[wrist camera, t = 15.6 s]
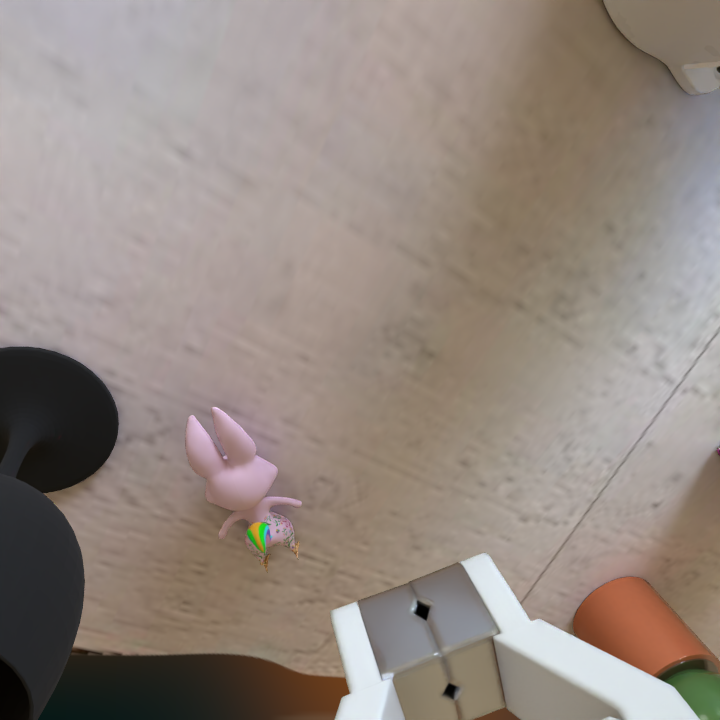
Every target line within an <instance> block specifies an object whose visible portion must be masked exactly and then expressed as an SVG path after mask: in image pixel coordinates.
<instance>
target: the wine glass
mask: <svg viewBox="0 0 720 720" xmlns="http://www.w3.org/2000/svg"><path fill="white" fill-rule="evenodd" d="M118 425H119V422H118V412H117V409H116V405H115V402H114V400H113V398H112V396H111V394H110V392H109V390H108V389H107V388H106V386H105V385H104V384H103V382H102V381H101V380H100V379H99V378H98V377H97V376H96V375H95V374H94V373H93V372H92V371H91V370H89V369H88V368H86V367H85V366H84V365H82V364H81V363H79V362H77V361H75V360H73V359H72V358H70V357H67V356H65V355H62V354H59V353H57V352H54V351H49V350H45V349H41V348H32V347H8V348H1V349H0V720H38V718H39V716H40V714H41V713H42V711H43V709H44V707H45V705H46V704H47V702H48V700H49V698H50V696H51V695H52V693H53V691H54V689H55V687H56V685H57V683H58V681H59V679H60V677H61V675H62V673H63V670H64V668H65V666H66V663H67V661H68V658H69V656H70V653H71V650H72V647H73V644H74V640H75V637H76V634H77V630H78V627H79V624H80V619H81V614H82V609H83V598H84V584H85V579H84V567H83V559H82V554H81V549H80V547H79V544H78V541H77V539H76V536H75V534H74V531H73V529H72V528H71V526H70V524H69V523H68V521H67V519H66V518H65V516H64V514H63V513H62V512H61V511H60V510H59V509H58V508H57V506H56V505H55V504H54V503H53V502H52V501H51V500H50V499H49V498H47V497H46V496H45V495H44V494H43V493H48V492H53V491H58V490H62V489H65V488H68V487H71V486H73V485H75V484H77V483H79V482H81V481H83V480H85V479H86V478H88V477H89V476H91V475H92V474H94V473H95V472H96V471H97V470H98V469H99V468H100V467H101V466H102V465H103V464H104V463H105V461H106V460H107V459H108V457H109V456H110V454H111V452H112V450H113V448H114V445H115V442H116V439H117V435H118Z"/></svg>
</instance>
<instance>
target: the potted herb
mask: <svg viewBox="0 0 720 720" xmlns="http://www.w3.org/2000/svg"><path fill="white" fill-rule="evenodd" d="M573 630H574V634H575V636H576V638H578V639H580V640H582V641H584V642H586V643H588V644H590V645H592V646H594V647H596V648H598V649H600V650H602V651H604V652H606V653H608V654H610V655H612V656H614V657H616V658H618V659H620V660H622V661H624V662H626V663H628V664H630V665H632V666H634V667H636V668H638V669H640V670H642V671H644V672H646V673H648V674H650V675H652V676H653V677H655V678H657V679H659V680H661V681H663V682H665V683H667V684H669V685H671V686H673V687H674V688H675V689H676V690H677V691H678V693H679V694H680V695H681V696H682V698H683V699H684V700H685V701H686V703H687V704H688V705H689V706H690V708H691V709H692V710H693V711H694V713H695V714H696V715H697V717H698V718H699V719H700V720H720V661H719V660H718V658H717V657H716V656H715V655H714V654H713V653H712V652H711V651H710V650H709V649H708V647H707V646H706V645H705V644H704V643H703V642H702V641H701V640H700V639H699V638H698V636H697V635H696V634H695V633H694V632H693V631H692V630H691V629H690V628H689V627H688V625H687V624H686V623H685V622H684V621H683V620H682V619H681V618H680V617H679V615H678V614H677V613H676V612H675V611H674V610H673V609H672V608H671V607H670V606H669V604H668V603H667V602H666V601H665V600H664V599H663V598H662V597H661V596H660V595H659V593H658V592H657V591H656V590H655V589H654V588H653V587H652V586H651V585H650V584H649V582H647V581H646V580H644V579H642V578H638V577H623V578H619V579H616V580H613V581H610V582H608V583H606V584H604V585H603V586H601V587H599V588H598V589H596V590H595V591H594V592H593V593H591V594H590V595H589V596H588V597H587V598H586V599H585V600H584V602H583V603H582V604H581V606H580V607H579V609H578V610H577V612H576V615H575V617H574V621H573Z"/></svg>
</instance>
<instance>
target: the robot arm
mask: <svg viewBox="0 0 720 720" xmlns="http://www.w3.org/2000/svg"><path fill="white" fill-rule="evenodd" d="M603 2H604V4H605V7H606V9H607V11H608V13H609V15H610V17H611V19H612V20H613V22H614V24H615V25H616V26H617V28H618V29H619V31H620V32H621V33H622V34H623V35H624V36H625V37H626V38H627V39H628V40H629V41H630V42H631V43H632V44H633V45H635V46H636V47H637V48H639V49H640V50H642V51H644V52H646V53H647V54H649V55H651V56H653V57H655V58H657V59H659V60H660V61H662V62H663V63H664V64H666V65H667V66H668V68H669V70H670V71H671V73H672V74H673V76H674V78H675V79H676V81H677V82H678V84H679V85H680V86H681V88H682V89H683V90H684V91H685V92H687V93H688V94H691V95H699V94H706V93H709V92H712V91H714V90H716V89H718V88H719V87H720V67H719V66H720V0H603ZM717 67H719V69H718V70H717ZM358 605H359V606H358ZM359 608H360V609H359ZM360 611H361V612H360ZM361 614H362V615H361ZM330 616H331V622H332V626H333V630H334V634H335V638H336V642H337V646H338V650H339V653H340V657H341V661H342V665H343V669H344V673H345V677H346V681H347V684H348V688H349V692H350V694H349V695H346V696H344V697H342V699H341V702H340V705H339V708H338V711H337V714H336V717H335V720H472V719H475V718H478V717H481V716H483V715H486V714H488V713H491V712H494V711H496V710H499V709H501V708H504V707H507V710H509V711H510V712H511V713H513V714H514V715H515V716H517V717H518V718H519V719H521V720H700V719H699V718H698V717H697V715H696V714H695V713H694V711H693V710H692V709H691V708H690V706H689V705H688V704H687V703H686V701H685V700H684V699H683V698H682V696H681V695H680V694H679V693H678V691H677V690H676V689H675V688H674V687H673V686H671V685H669V684H667V683H665V682H663V681H661V680H659V679H657V678H655V677H653V676H652V675H650V674H648V673H646V672H644V671H642V670H640V669H638V668H636V667H634V666H632V665H630V664H628V663H626V662H624V661H622V660H620V659H618V658H616V657H614V656H612V655H610V654H608V653H606V652H604V651H602V650H600V649H598V648H596V647H594V646H592V645H590V644H588V643H586V642H584V641H582V640H580V639H578V638H576V637H574V636H573V635H571V634H569V633H567V632H565V631H563V630H561V629H559V628H557V627H555V626H553V625H551V624H549V623H547V622H545V621H543V620H541V619H536V620H533V621H531V620H530V619H529V617H528V616H527V614H526V612H525V611H524V609H523V608H522V606H521V605H520V603H519V601H518V600H517V598H516V597H515V595H514V594H513V592H512V590H511V589H510V587H509V586H508V584H507V582H506V581H505V579H504V578H503V576H502V575H501V573H500V571H499V570H498V568H497V567H496V565H495V564H494V562H493V560H492V559H491V557H490V556H489V555H488V554H487V553H485V552H484V553H482V554H479V555H477V556H474V557H471V558H469V559H466V560H464V561H461V562H460V563H455V564H452V565H450V566H447V567H445V568H442V569H440V570H437V571H435V572H432V573H430V574H427V575H425V576H422V577H420V578H417V579H415V580H412V581H410V582H409V583H407V584H404V585H401V586H398V587H395V588H392V589H390V590H387V591H384V592H381V593H378V594H375V595H373V596H370V597H367V598H364V599H361V600H358V603H357V602H354V603H351V604H348V605H346V606H343V607H340V608H337V609H335V610H332V611H330Z"/></svg>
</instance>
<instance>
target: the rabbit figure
mask: <svg viewBox="0 0 720 720" xmlns="http://www.w3.org/2000/svg"><path fill="white" fill-rule="evenodd" d="M211 412H212V416H213V421H214V427H215V431H216V434H217V437H218V439H219V441H220V443H221V446H222V448H223V450H224V452H225V454H226V455H225V456H223V457H222V455H221V453H220V452H219V450H218V448H217V447H216V445H215V443H214V442H213V440H212V439H211V437H210V436H209V434H208V433H207V431H206V430H205V429H204V428H203V427H202V426H201V424H200V423H199V422H198V420H197V419H196V418H195V416H193V415H191V416H190V417H189V418H188V421H187V426H186V438H185V446H186V454H187V457H188V460H189V463H190V466H191V467H192V469H193V470H194V472H195V473H196V474H198V475H199V476H201V477H204V478H206V479H207V481H206V491H205V497H206V499H207V500H208V501H209V502H211V503H212V504H215V505H218V506H220V507H223V508H225V509H228V510H232V511H234V512H233V513H232V514H231V516H230V517H229V518H228V519H227V520H226V522H225V523H224V524H223V526H222V528H221V530H220V531H219V534H218V537H219V538H220V539H223V538H225V537H226V535H227V533H228V530H229V528H230V527H231V526H232V525H233V524H234V523H235V522H236V521H238V520H241V519H245V520H247V521H248V522H249V526H248V529H247V532H246V536H245V543H246V546H247V547H248V549H249V550H250V551H251V552H252V553H253V554H254V556H255V557H256V558H257V559H258V560H259V561H260V564H261V565H264V566H265V568H266V571H267V573H268V570H267V566H268V559H269V555H271V554H268V555H267V556H266V554H267V551H268V548H270V547H272V546H275V545H280V544H281V545H283V546H286V547H288V548H290V549H291V550H292V551H293V552H294V553H295V554H296V557H297V559H298V556H297V555H298V547H299V543H300V542H299V541H298V543H297V544H296V543H295V535H294V528H293V526H292V524H291V522H290V521H289V520H288V519H287V518H286V517H284V516H282V515H279V514H277V513H274V512H271V511H270V508H271V507H273V506H275V505H280V504H285V505H290V506H293V507H295V508H299V507H300V506H301V505H302V503H301V501H299V500H296V499H292V498H286V497H274V496H272V497H265V495H266V494H267V492H268V490H269V489H270V487H271V485H272V484H273V482H274V480H275V478H276V476H277V472H278V470H277V467H276V466H275V465H273V464H271V463H270V462H268V461H266V460H265V459H263V458H261V457H259V456H257V455H255V454H256V445H255V443H254V442H253V440H252V439H251V438H250V437H249V436H248V434H247V433H246V432H245V431H244V430H243V429H242V428H241V427H240V426H239V425H238V424H237V423H236V422H235V421H234V420H233V419H232V418H230V417H229V416H228V415H227V414H226V413H225V412H223V411H222V410H221V409H219V408H217V407H212V408H211ZM298 560H299V559H298Z"/></svg>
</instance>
